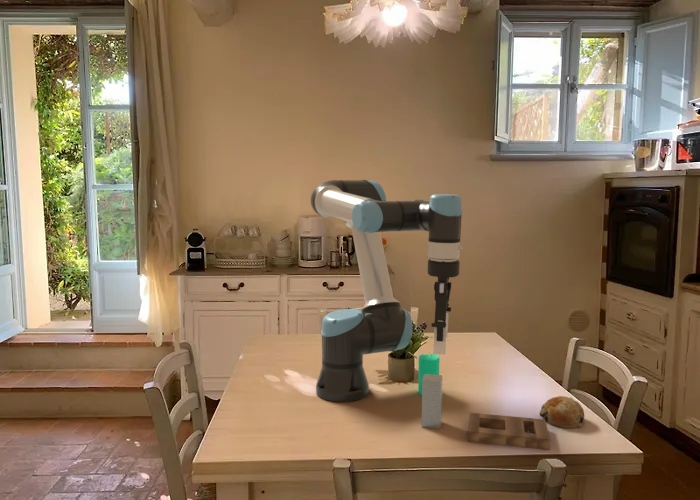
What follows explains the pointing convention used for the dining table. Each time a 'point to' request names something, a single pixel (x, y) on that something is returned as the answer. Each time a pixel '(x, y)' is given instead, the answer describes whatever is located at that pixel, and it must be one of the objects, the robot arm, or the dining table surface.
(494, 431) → the socket block
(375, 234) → the robot arm
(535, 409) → the dining table surface
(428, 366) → the candle
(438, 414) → the square bit
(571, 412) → the bread roll
